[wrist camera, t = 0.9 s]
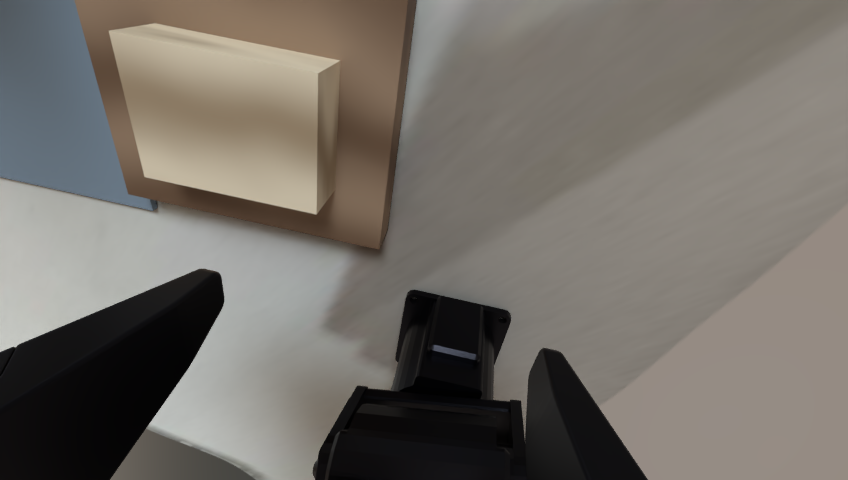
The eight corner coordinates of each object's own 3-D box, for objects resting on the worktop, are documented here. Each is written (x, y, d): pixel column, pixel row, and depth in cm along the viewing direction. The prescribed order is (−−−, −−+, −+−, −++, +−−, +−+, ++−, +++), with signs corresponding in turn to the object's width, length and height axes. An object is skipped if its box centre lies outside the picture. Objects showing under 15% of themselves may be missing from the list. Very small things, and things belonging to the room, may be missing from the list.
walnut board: (387, 229, 24) (378, 249, 22) (153, 178, 24) (128, 194, 23) (418, -15, 17) (409, -13, 15) (94, -77, 18) (51, -82, 16)
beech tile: (335, 189, 20) (316, 214, 18) (179, 156, 21) (144, 176, 19) (340, 60, 17) (318, 73, 15) (155, 23, 17) (108, 31, 15)
